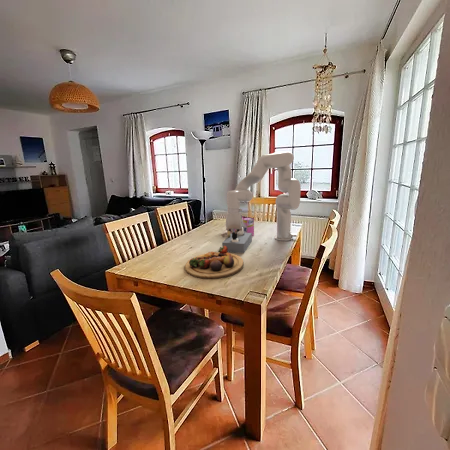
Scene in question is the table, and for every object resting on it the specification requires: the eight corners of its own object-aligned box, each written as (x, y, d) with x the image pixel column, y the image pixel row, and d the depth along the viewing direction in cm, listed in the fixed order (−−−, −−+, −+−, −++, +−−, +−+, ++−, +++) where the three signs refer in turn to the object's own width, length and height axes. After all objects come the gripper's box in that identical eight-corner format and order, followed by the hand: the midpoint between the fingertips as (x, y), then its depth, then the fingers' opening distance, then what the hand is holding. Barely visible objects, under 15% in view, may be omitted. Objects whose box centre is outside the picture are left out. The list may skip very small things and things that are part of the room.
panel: (251, 241, 174) (251, 232, 173) (244, 253, 152) (243, 243, 150) (232, 240, 178) (232, 232, 177) (222, 251, 156) (222, 242, 155)
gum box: (225, 232, 200) (225, 215, 197) (232, 230, 206) (232, 214, 202) (247, 237, 183) (247, 219, 180) (254, 235, 188) (254, 217, 185)
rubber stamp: (231, 236, 166) (231, 227, 165) (230, 237, 164) (230, 228, 162) (227, 236, 167) (227, 227, 166) (226, 237, 164) (225, 228, 163)
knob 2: (244, 235, 172) (243, 226, 170) (242, 237, 168) (242, 228, 166) (238, 235, 173) (237, 226, 172) (236, 237, 169) (236, 227, 167)
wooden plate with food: (212, 252, 157) (211, 239, 155) (255, 262, 137) (254, 248, 135) (173, 270, 133) (171, 256, 131) (217, 286, 113) (215, 270, 111)
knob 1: (239, 248, 160) (239, 238, 158) (237, 250, 156) (237, 240, 154) (232, 247, 161) (232, 237, 160) (231, 249, 157) (230, 239, 156)
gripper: (246, 209, 154) (247, 238, 158) (224, 209, 158) (225, 236, 162) (244, 212, 147) (244, 241, 151) (220, 211, 151) (221, 240, 156)
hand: (234, 239), depth 157 cm, fingers closed
